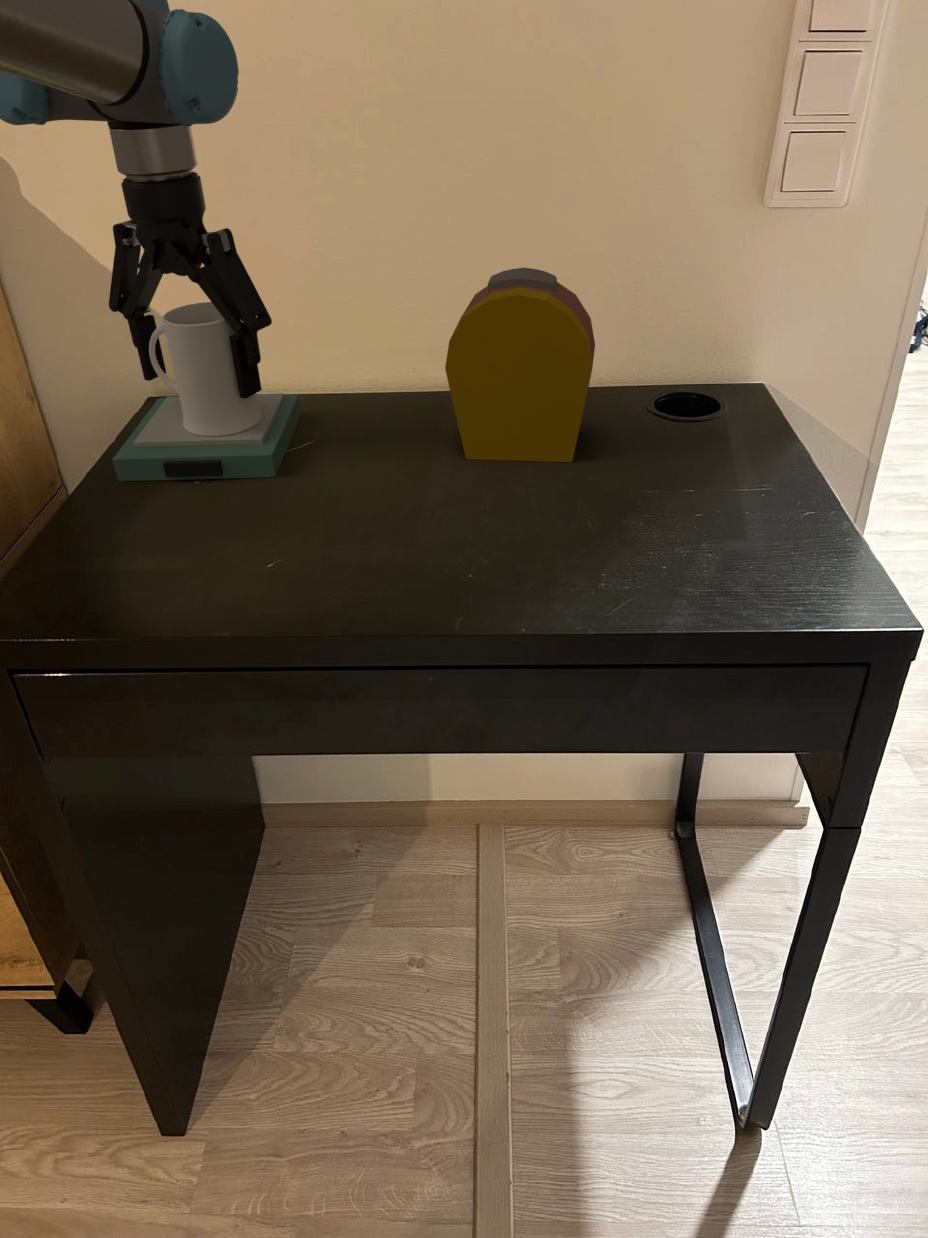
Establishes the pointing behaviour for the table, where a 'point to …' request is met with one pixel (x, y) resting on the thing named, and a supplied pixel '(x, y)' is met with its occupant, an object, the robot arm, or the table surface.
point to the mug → (204, 371)
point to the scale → (208, 444)
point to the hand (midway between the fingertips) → (202, 385)
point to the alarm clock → (521, 369)
